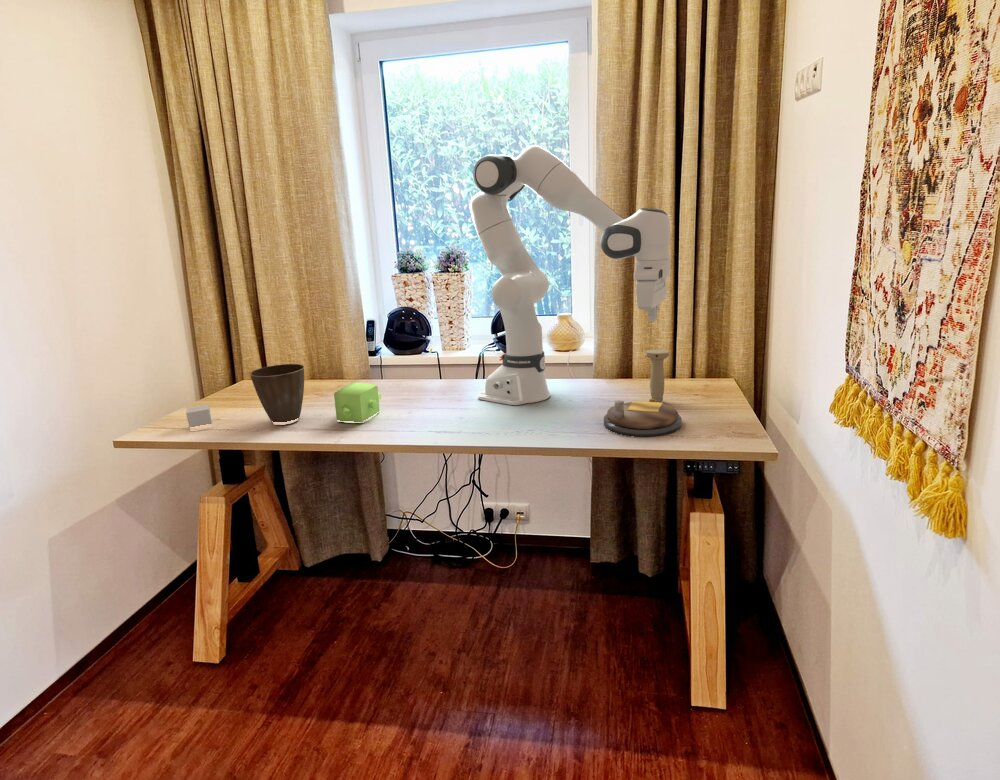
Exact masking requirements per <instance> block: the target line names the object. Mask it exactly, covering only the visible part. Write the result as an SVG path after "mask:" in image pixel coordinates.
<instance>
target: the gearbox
mask: <svg viewBox="0 0 1000 780" xmlns="http://www.w3.org/2000/svg"><path fill="white" fill-rule="evenodd" d="M378 390H379V389H378V384H373V383H366V382H365V383H363V382H352V383H349V384H347V385H346V386H343V387H342V388H340V389H338V390H337V391H335V392H334V393H333V397H334V407H335V409H334V410H335V415H336V416H335V417H336V421H337V420H340V421H354V422H363V421H364V420H366V419H368V418H369V417H371V416H373V415H374V414H376V413H377V412H379V411H380V400H381V399H382V393H381V392H379V391H378ZM379 413H380V412H379Z"/></svg>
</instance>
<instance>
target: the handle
mask: <svg viewBox="0 0 1000 780" xmlns="http://www.w3.org/2000/svg"><path fill="white" fill-rule="evenodd" d="M669 356H670V351H669V350H667V349H647V350H646V351H645V357H647V359H650V361H651V363H650V378H649V379H650V380H649V382H650V383H649V389H650V396H651V398H650V399H656V402H661V403H663V399H664V393H665V371H664V370H665V368H664V360H665V359H667V358H668V357H669Z"/></svg>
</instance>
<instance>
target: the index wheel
mask: <svg viewBox="0 0 1000 780" xmlns="http://www.w3.org/2000/svg"><path fill="white" fill-rule="evenodd" d="M606 414H607V418H608V420H609V421H610V422H611V423H613V424H615V425H618V426H621V427H626V428H633V429H655V428H662V427H666V426H669V425H672V424H674V423H675V422H676V421H677V420H678V415H679V412H678V410H677V409H676V408H675V407H674V406H670V405H668V404H665V403H663V402H649V401H639V400H638V401H637V400H632V401H631V402H625V401H624V400H614V405H613V406H611V407H609V409H607V412H606Z"/></svg>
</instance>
